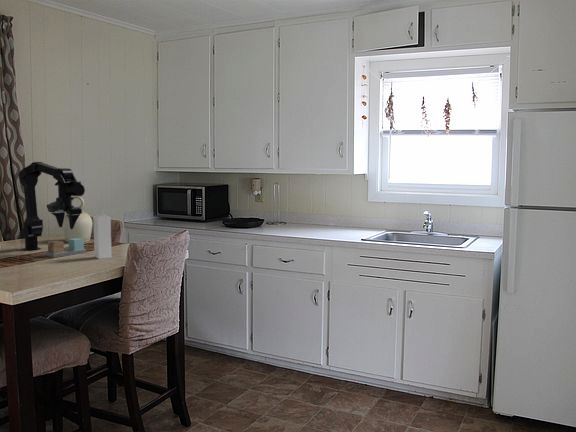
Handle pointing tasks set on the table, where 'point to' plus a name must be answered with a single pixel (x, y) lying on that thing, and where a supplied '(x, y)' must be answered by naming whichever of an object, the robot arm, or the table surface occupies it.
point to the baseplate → (66, 253)
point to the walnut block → (55, 247)
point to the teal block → (76, 244)
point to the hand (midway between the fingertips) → (66, 228)
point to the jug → (78, 225)
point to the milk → (102, 235)
